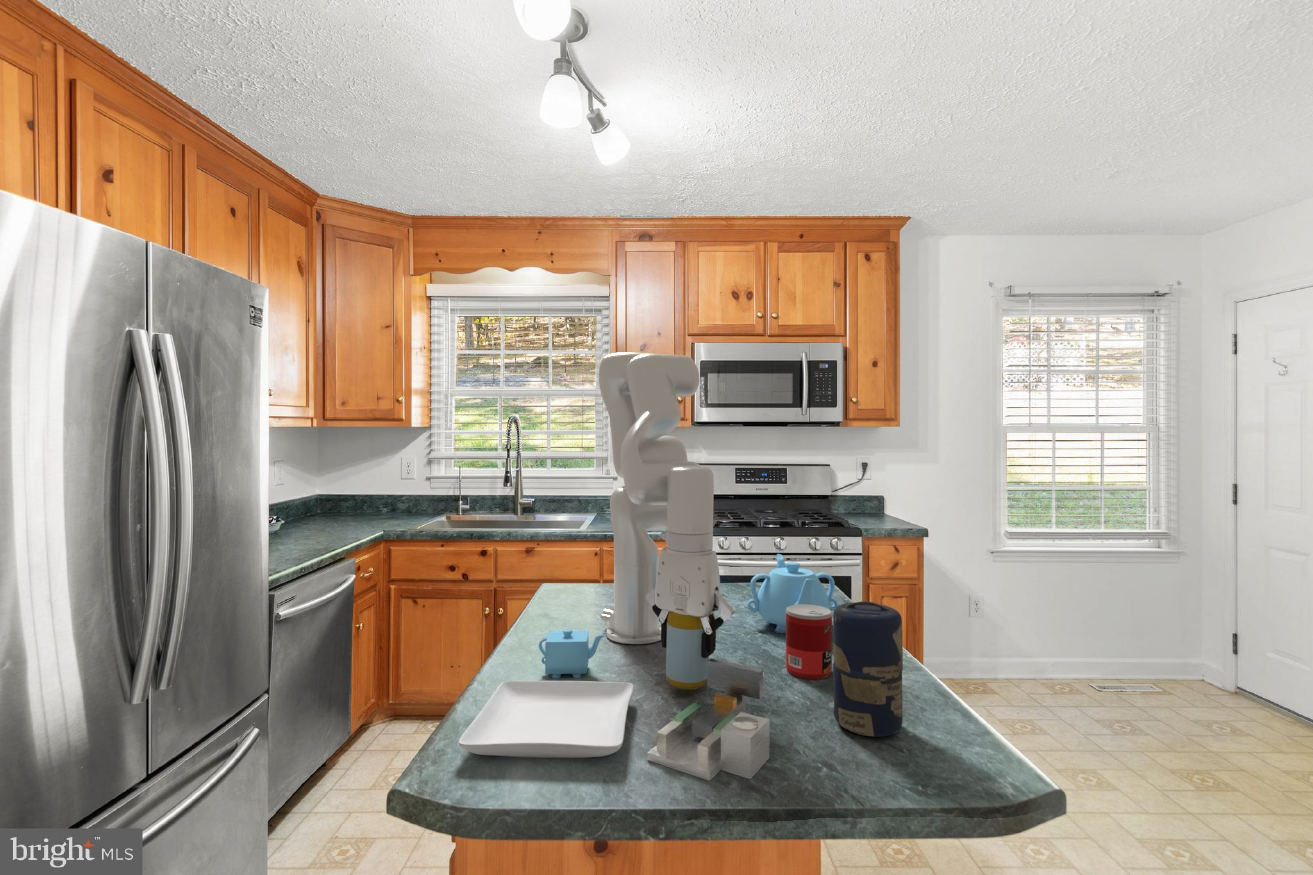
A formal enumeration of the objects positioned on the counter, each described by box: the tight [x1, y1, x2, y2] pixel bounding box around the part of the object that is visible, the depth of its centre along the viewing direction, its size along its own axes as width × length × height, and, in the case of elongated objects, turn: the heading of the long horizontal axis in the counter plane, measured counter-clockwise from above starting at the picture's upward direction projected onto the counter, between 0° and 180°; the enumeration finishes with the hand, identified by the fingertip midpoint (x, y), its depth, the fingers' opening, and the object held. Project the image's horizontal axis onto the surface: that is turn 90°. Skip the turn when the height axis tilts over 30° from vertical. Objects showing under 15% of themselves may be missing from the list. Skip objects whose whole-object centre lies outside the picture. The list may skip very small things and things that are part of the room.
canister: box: [832, 600, 904, 738], centre depth 89 cm, size 10×10×18 cm
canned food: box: [785, 604, 833, 680], centre depth 110 cm, size 8×8×11 cm
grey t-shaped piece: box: [692, 658, 764, 739], centre depth 87 cm, size 8×11×7 cm
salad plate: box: [458, 680, 635, 759], centre depth 88 cm, size 21×21×3 cm
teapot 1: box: [538, 628, 607, 679], centre depth 109 cm, size 12×6×8 cm, turn 94°
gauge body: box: [646, 702, 770, 782], centre depth 81 cm, size 13×11×5 cm
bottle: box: [665, 593, 710, 690], centre depth 101 cm, size 7×7×15 cm
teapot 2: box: [746, 553, 839, 634], centre depth 137 cm, size 16×20×14 cm
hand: (687, 649), depth 101 cm, fingers closed on bottle, 6 cm apart
